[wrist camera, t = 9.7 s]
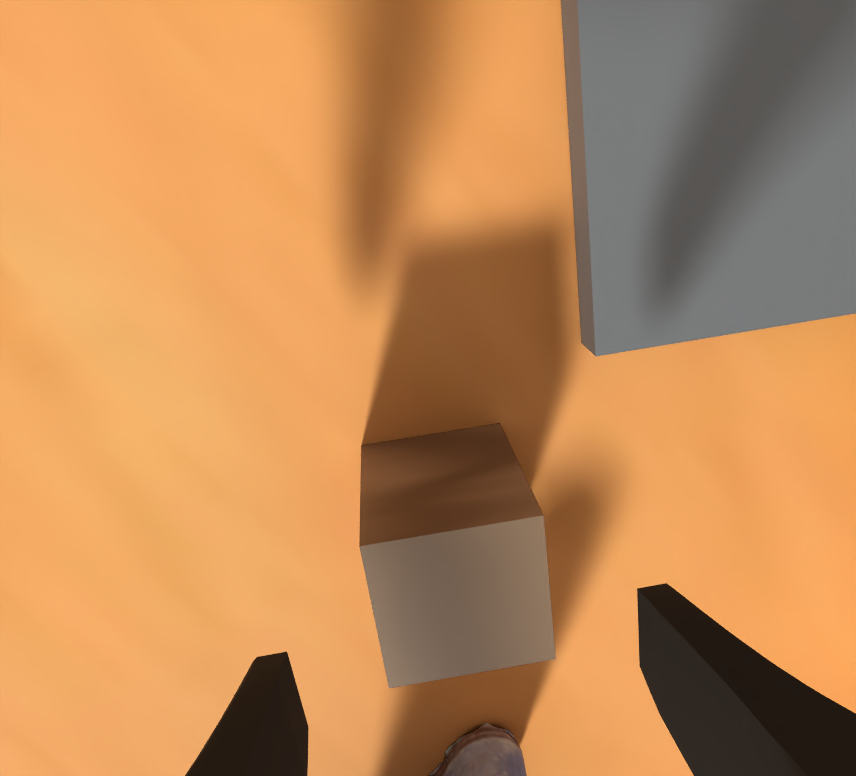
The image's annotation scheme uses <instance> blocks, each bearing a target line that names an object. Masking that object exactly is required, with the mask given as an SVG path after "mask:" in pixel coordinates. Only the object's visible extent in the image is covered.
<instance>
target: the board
mask: <svg viewBox="0 0 856 776" xmlns="http://www.w3.org/2000/svg"><path fill="white" fill-rule="evenodd" d="M561 9H562V26H563V43H564V59H565V76H566V93H567V110H568V126H569V143H570V160H571V176H572V193H573V210H574V226H575V243H576V260H577V277H578V293H579V310H580V327H581V343H582V344H583V345H584V346H585V347H586V348H587V349H588V350H589V351H591V352H592V353H593V354H594V355H595V356H601V355H607V354H613V353H619V352H625V351H631V350H637V349H643V348H649V347H655V346H661V345H667V344H673V343H679V342H685V341H691V340H697V339H703V338H710V337H716V336H722V335H728V334H734V333H740V332H746V331H752V330H758V329H764V328H770V327H776V326H782V325H788V324H794V323H800V322H806V321H812V320H818V319H824V318H830V317H837V316H843V315H849V314H855V313H856V0H561Z"/></svg>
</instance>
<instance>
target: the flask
mask: <svg viewBox="0 0 856 776" xmlns="http://www.w3.org/2000/svg"><path fill="white" fill-rule="evenodd" d="M506 732H507V733H508V734H509V735H511V736H512V737H513V739H514V740H515V741H514V740H513V739H512V738H511V737H510V736H509V735H508V734H507V733H506ZM445 755H447V756H446V759H444V761H443V762H442V763H441V764H439V766H438V767H437V768H436V769H435V771H433V772H431V773H430V775H429V776H526V770H525V764H524V759H523V755H522V751H521V748H520V746H519V744H518V743H517V741H516V739H515V738H514V736H513V734H512V733H511V732H510V731H509V730H506V729H505V730H503V729H502V728H500V729H498V728H497V727H493V726H492V725H490V724H488V723H485V724H483V725H482V726H480V727H479V729H477V730H476V731H473V732H471V733H469V734H467V735H464V736H462V737H461V738H459V739H458V741H457V742H455V743H454V744H453V745H451V746H450V747H448V749H447V750H446V751H445Z"/></svg>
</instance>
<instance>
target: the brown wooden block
mask: <svg viewBox="0 0 856 776" xmlns="http://www.w3.org/2000/svg"><path fill="white" fill-rule="evenodd" d="M360 551H361V556H362V560H363V565H364V570H365V575H366V580H367V585H368V589H369V594H370V599H371V604H372V609H373V613H374V618H375V623H376V628H377V633H378V637H379V642H380V647H381V652H382V657H383V661H384V666H385V671H386V676H387V681H388V685H389V688H394V687H400V686H405V685H411V684H417V683H422V682H428V681H434V680H440V679H445V678H451V677H457V676H462V675H468V674H474V673H479V672H485V671H491V670H496V669H502V668H508V667H514V666H519V665H525V664H531V663H536V662H542V661H548V660H553V659H556V656H555V644H554V632H553V621H552V609H551V597H550V585H549V573H548V561H547V550H546V538H545V526H544V515H543V513H542V511H541V509H540V507H539V505H538V503H537V500H536V498H535V496H534V494H533V492H532V490H531V488H530V486H529V484H528V481H527V479H526V477H525V475H524V473H523V471H522V469H521V467H520V465H519V463H518V460H517V458H516V456H515V454H514V452H513V450H512V448H511V446H510V444H509V441H508V439H507V437H506V435H505V433H504V431H503V429H502V427H501V425H500V423H497V424H491V425H485V426H478V427H472V428H466V429H460V430H454V431H448V432H441V433H435V434H429V435H423V436H417V437H411V438H404V439H398V440H392V441H386V442H380V443H374V444H367V445H361V492H360Z"/></svg>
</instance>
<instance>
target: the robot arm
mask: <svg viewBox="0 0 856 776" xmlns="http://www.w3.org/2000/svg"><path fill="white" fill-rule="evenodd" d="M637 594H638V626H639V658H640V668H641V670H642V673H643V675H644V678H645V680H646V682H647V685H648V687H649V690H650V692H651V695H652V697H653V699H654V702H655V704H656V706H657V709H658V711H659V713H660V715H661V717H662V719H663V721H664V723H665V725H666V726H667V728H668V730H669V732H670V734H671V735H672V737H673V739H674V741H675V743H676V744H677V746H678V748H679V750H680V752H681V753H682V755H683V757H684V759H685V761H686V762H687V764H688V766H689V768H690V769H691V771H692V773H693V775H694V776H856V714H855V713H853V712H852V711H850V710H848V709H846V708H845V707H843V706H841V705H839V704H838V703H836V702H834V701H832V700H831V699H829V698H827V697H825V696H824V695H822V694H820V693H819V692H817V691H815V690H814V689H812V688H810V687H809V686H807V685H805V684H804V683H802V682H801V681H799V680H798V679H796V678H795V677H793V676H791V675H790V674H788V673H787V672H785V671H784V670H782V669H781V668H779V667H778V666H776V665H775V664H773V663H772V662H770V661H769V660H767V659H766V658H765V657H763V656H762V655H760V654H759V653H758V652H756V651H755V650H753V649H752V648H751V647H749V646H748V645H746V644H745V643H744V642H742V641H741V640H740V639H738V638H737V637H735V636H734V635H733V634H731V633H730V632H729V631H727V630H726V629H725V628H723V627H722V626H721V625H719V624H718V623H717V622H716V621H714V620H713V619H712V618H710V617H709V616H708V615H707V614H705V613H704V612H703V611H701V610H700V609H699V608H698V607H696V606H695V605H694V604H692V603H691V602H690V601H689V600H687V599H686V598H685V597H684V596H682V595H681V594H680V593H678V592H677V591H676V590H675V589H673V588H672V587H671V586H669V585H668V584H667V583H666V584H660V585H655V586H649V587H644V588H638V589H637ZM307 768H308V724H307V721H306V717H305V714H304V710H303V707H302V703H301V700H300V696H299V692H298V689H297V685H296V682H295V678H294V675H293V671H292V668H291V664H290V661H289V657H288V654H287V652H283V653H277V654H272V655H266V656H260V657H257V658H256V659H255V660H254V661H253V663H252V665H251V666H250V668H249V670H248V672H247V674H246V676H245V677H244V679H243V681H242V683H241V685H240V686H239V688H238V690H237V692H236V694H235V695H234V697H233V699H232V701H231V702H230V704H229V706H228V708H227V709H226V711H225V713H224V715H223V716H222V718H221V720H220V721H219V723H218V725H217V726H216V728H215V729H214V731H213V733H212V734H211V736H210V738H209V739H208V741H207V743H206V744H205V746H204V748H203V749H202V751H201V752H200V754H199V755H198V757H197V759H196V760H195V762H194V763H193V765H192V766H191V768H190V769H189V771H188V772H187V774H186V775H185V776H307Z"/></svg>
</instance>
